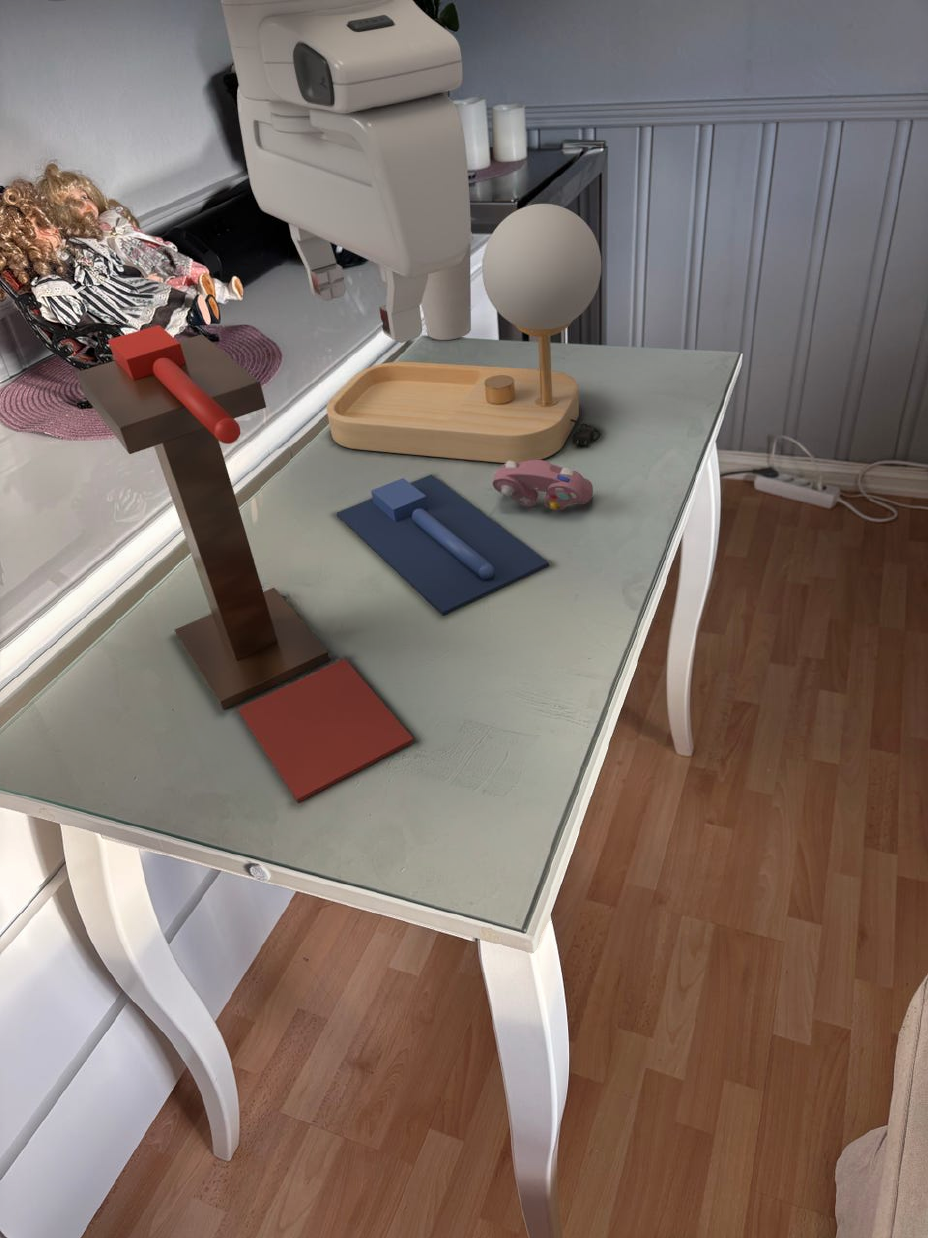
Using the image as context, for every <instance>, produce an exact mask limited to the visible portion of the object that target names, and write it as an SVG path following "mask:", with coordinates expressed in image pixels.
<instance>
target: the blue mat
mask: <svg viewBox="0 0 928 1238" xmlns="http://www.w3.org/2000/svg"><path fill="white" fill-rule="evenodd" d="M409 483H410V484H411V485H413V486H414V487H415V488H417V489H418V490H419V491H420V492H422V493H423V494H424V495H425V496H426V498H427V505H428V509H426V510H425V511H426V512H427V513H429V514H430V515H431V516H432V517H434V518H435V519H436V520H437V521H438V522H440V523H441V524H442V525H443V526H445V527H446V528H447V529H448V530H450V531H451V532H452V533H453V534H455V535H456V536H457V537H458V538H459V539H461V540H462V541H463V542H464V543H466V544H467V545H468V546H469V547H471V548H472V549H473V550H474V551H475V552H477V553H478V554H479V555H480V556H482V557H483V558H484V559H485V560H487V561H488V562H489V563H490V564H492V566H493V567H494V574H493V576H492V577H491V578H489V579H482V578H481V577H479V576H478V575H477V574H476V573H475V572H473V571H472V570H471V569H470V568H469V567H467V566H466V565H465V564H464V563H463V562H462V561H460V560H459V559H458V558H457V557H456V556H454V555H453V554H452V553H451V552H450V551H448V550H447V549H446V548H445V547H444V546H442V545H441V544H440V543H439V542H438V541H437V540H435V539H434V538H433V537H432V536H431V535H429V534H428V533H427V532H426V531H425V530H423V529H422V528H421V527H420V526H419V525H417V524H416V523H415V522H414V521H413V519H412V516H409V517H407V518H404V519H402V520H400V521H397V522H395V521H394V520H393V519H391V518H390V517H389V516H388V515H387V514H386V513H385V512H383V511H382V510H381V509H380V508H379V507H378V506H376V505H375V504H374V503H373V498H372V497H371V498H369V499H367V500H364V501H362V502H360V503H357V504H354V505H351V506H350V507H349V506H348V507H347V508H345V509H342V510H339V511H337V512H336V516H337V517H338V518H339V519H340V520H341V521H342V522H343V523H344V524H345V525H346V526H348V528H350V529H351V530H352V531H353V532H354V533H355V534H356V535H357V536H358V537H359V539H361V540H362V541H364V543H366V545H368V547H370V548H371V549H372V550H373V551H374V552H375V553H376V554H377V555H378V556H379V557H381V559H382V560H384V561H385V562H386V564H388V566H390V567H391V568H392V569H393V570H394V571H395V572H396V573H398V574H399V576H401V578H403V580H404V581H406V582H407V583H408V584H409V585H410V586H411V587H412V588H413V589H415V590H416V591H417V593H419V594H420V595H421V596H422V597H423V598H424V599H425V600H426V601H427V602H428V603H429V604H431V605H432V606H433V607H434V608H435V610H437V611H438V612H439V613H440V614H441V615H442V616H445V615H447V614H449V613H451V612H454V611H455V610H457V609H459V608H461V607H464V606H466V605H468V604H469V603H470V604H471V603H472V602H475V601H477V600H478V599H480V598H483V597H485V596H487V595H489V594H491V593H494V592H495V591H498V590H501V589H502V588H504V587H506V586H509V585H510V584H512V583H515V582H517V581H520V580H521V579H523V578H526V577H528V576H530V575H532V574H534V573H536V572H538V571H540V570H543V569H544V568H547V567H549V566H550V562H549V560H546V559H545V557H543V556H541V555H540V554H538V553H537V552H536V551H534V550H533V549H532V548H530V547H529V546H527V545H526V544H525V543H524V542H522V541H521V540H519V538H517V537H516V536H514V534H512V533H510V532H509V531H508V530H507V529H505V528H504V527H502V526H501V524H498V523H497V522H496V521H494V520H493V519H491V518H490V517H489V516H488V515H487V514H485V513H484V512H483V511H481V510H479V509H478V508H477V507H476V506H474V504H472V503H470V502H469V501H467V500H466V499H465V498H463V497H462V496H461V495H459V494H458V493H457V492H455V491H454V490H453V489H451V488H450V487H449V486H448V485H446V484H445V483H443V481H440V480H439V479H438V477H436V476H435V475H433V474H429V475H426V476H424V477H422V478H419V479H417V480H413V481H412V482H409Z"/></svg>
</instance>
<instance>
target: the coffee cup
mask: <svg viewBox="0 0 928 1238" xmlns="http://www.w3.org/2000/svg"><path fill="white" fill-rule="evenodd" d="M473 241H474V235H473V232H472V231H471V236H470V242H469V246H468V248H467V251H466V253H465V256H464V258H463V260H462V261H461V263H459V264H458V265H455V266H453V267H450V268H447V269H444V270H441V271H438V272H434V273H431V274H428V280H427V284H426V287H425V291H424V294H423V298H422V301H421V305H420V306H421V310H422V314H423V318H424V323H425V329H426V333H427V336H428V337H429V338H431V339H434V340H437V341H451V340H456V339H460V338H462V337H463V338H464V337H465V336H467V335H468V334H470V333H471V331H472V313H471V312H472V311H471V310H472V303H471V301H472V298H471V297H472V295H471V294H472V292H471V290H472V289H471V288H472V287H471V286H472V285H471V284H472V283H471V244H472V243H473Z"/></svg>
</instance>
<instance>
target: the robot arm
mask: <svg viewBox="0 0 928 1238" xmlns="http://www.w3.org/2000/svg"><path fill="white" fill-rule="evenodd" d="M49 1H50V2H63V1H65V0H49ZM220 3H221V7H222V13H223V17H224V23H225V26H226V31H227V35H228V40H229V46H230V50H231V55H232V60H233V65H234V69H235V74H236V77H237V84H238V86H237V91H236V92H237V94H236V98H237V99H236V102H237V103H236V104H237V113H238V121H239V127H240V128H239V129H240V134H241V139H242V145H243V152H244V156H245V157H244V158H245V161H246V163H245V164H246V168H247V173H248V179H249V184H250V187H251V190H252V193H253V196H254V198H255V200H256V203H257V204H258V205H257V206H259V209H260V210H261V211H262V212H264V213H266V214H268V215H270V216H273V217H275V218H277V219H279V220H281V221H282V222H285V223H287V224H288V227H289V232H290V238H291V239H292V242H293V244H294V245H295V248H296V250H297V252H298V255H299V257H300V259H301V261H302V263H303V265H304V267H305V269H306V274H307V277H308V278H307V279H308V282H309V287H310V291H311V293H312V295H314V296H316V297H318V298H319V299H321V300H322V301H327V302H329V301H332V300H333V299H338V298H341V297H343V296H344V295H345V294H346V291H347V287H346V283H345V280H344V279H345V276H344V275H345V274H344V269H343V266H341V265H340V264H338V263H337V260H336V256H335V253H334V251H333V247H332V244H333V245H335V246H338V247H340V248H342V249H343V250H346V251H349V252H351V253H353V254H355V255H357V256H359V257H361V258H364V259H365V260H368V261H370V262H373V263H374V264H376V265H378V266H379V270H380V277H381V281H382V282H383V283H385V284H387V287H386V301H385V305H381V306H379V307H378V309H379V316H380V321H381V322H382V325H381V327H382V332H383V334H384V335H386V336H387V337H388V338H391V339H392V340H394V341H396V342H398V343H400V344H403V343H407V342H410V341H412V340H415V339H418V338H419V337H420V336H421V335H422V332H423V323H422V314H421V306H422V305H421V301H422V298H423V294H424V291H425V287H426V284H427V280H428V274H431V273H434V272H438V271H441V270H444V269H447V268H450V267H453V266H455V265H458V264H459V263H461V261H462V260H463V258H464V256H465V253H466V251H467V248H468V246H469V242H470V236H471V232H472V220H471V219H472V217H471V199H470V198H471V197H470V185H469V184H470V183H469V170H468V159H467V149H466V141H465V140H466V139H465V133H464V127H463V124H462V119H461V116H460V114H459V113H460V112H459V111H458V108H457V107H456V105H455V102H453V100H452V98H450V97H449V96H448V95H447V94H445V93H446V92H450V91H454V90H457V89H459V88H460V87H461V85H462V83H463V76H464V75H463V69H464V68H463V60H462V59H463V58H462V51H461V46H460V44H459V41H458V40H457V39H456V38H457V37H455V36H454V35H453V34H452V33H451V32H449V30H447V29H446V28H445V27H443V26H441V25H440V24H439V23H438V22H436V21H435V20H434V19H433V18H431V16H429V15H428V14H427V13H426V12H424V11H423V10H422V9H421V7H419V5H417V4H416V2H415V1H414V0H220Z"/></svg>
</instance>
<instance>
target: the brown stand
mask: <svg viewBox="0 0 928 1238" xmlns="http://www.w3.org/2000/svg"><path fill="white" fill-rule="evenodd" d="M177 341H178V342H179V343H180V345H181V348H182V351H183V355H184V358H185V361H186V364H184V365H181V366H178V367H179V368H180V369H181V370H182V371H183V372H184V373H186V374H187V375H188V376H189V377H190V378H191V379H192V380H193V381H194V382H195V383H196V384H197V385H198V386H199V387H200V388H201V389H202V390H204V391H205V392H206V393H207V394H208V395H209V396H210V397H211V398H212V399H213V400H214V401H215V402H216V403H217V404H218V405H219V406H221V407H222V408H223V409H224V410H225V411H226V412H227V413H228V414H229V415H230V416H231V417H232V418H233V419H234V420H235V419H238V418H240V417H243V416H245V415H249V414H252V413H255V412H257V411H261V410H264V409H266V408H267V403H266V399H265V396H264V392H263V391H264V390H263V389H262V383H261V381H260V380H259V379H257V378H256V377H255V376H254V375H252V373H250V372H249V371H248V370H246V369H245V368H244V367H242V366H241V364H240V363H238V362H236V361H235V360H234V359H233V358H232V357H230V356H229V355H228V354H227V353H225V352H224V351H223V350H222V349H221V348H219V347H218V346H217V345H216V344H214V342H212V341H211V340H209V338H207V337H206V336H205V335H204V334H198V335H195V336H191V337H188V338H184V339H182V340H177ZM75 375H76V377H77V379H78V382H79V385H80V387H81V388H80V389H81V390H82V393H83V396H84V397H85V399H86V400H87V401H88V403H89V404H90V405H91V406H92V408H93V409H94V410H95V412H96V413H97V414H98V416H99V417H100V418H101V419H102V420H103V423H104V424H105V425H106V426H107V427H108V429H109V430H110V431H111V433H112V434H113V435H114V436H115V437H116V439H117V440H118V442H119V443H120V444H121V445H122V447H123V449H125V450H126V452H127V453H128V454H129V455H132V454H135V453H137V452H138V453H139V452H141V451H144V450H147V449H149V448H152V447H154V450H155V454H156V456H157V459H158V462H159V465H160V467H161V471H162V474H163V476H164V480H165V482H166V485H167V488H168V490H169V493H170V496H171V497H170V498H171V499H172V502H173V506H174V508H175V511H176V514H177V517H178V520H179V522H180V525H181V529H182V531H183V534H184V537H185V540H186V542H187V546H188V548H189V551H190V554H191V557H192V560H193V563H194V567H195V569H196V571H197V574H198V577H199V580H200V583H201V587H202V589H203V591H204V595H205V598H206V601H207V604H208V606H209V609H210V612H211V613H209V614H208V615H205V616H203V617H201V618H198V619H196V620H193V621H191V622H189V623H187V624H184V625H182V626H178V627H177V628H175V629H174V633H175V636H176V638H177V640H178V641H179V643H180V644H181V646H182V647H183V649H184V650H185V652H186V653H187V655H188V657H189V658H190V660H191V662H192V663H193V665H194V666H195V667H196V669H197V671H198V673H199V674H200V676H201V677H202V679H203V680H204V682H205V683H206V685H207V687H208V688H209V690H210V692H211V693H212V695H213V697H214V698H215V699H216V701H217V702H218V704H219V706H220V707H221V709H222V710H226V709H228V708H231V707H232V706H235V705H237V704H239V703H241V702H243V701H246V700H247V699H250V698H252V697H254V696H257V695H258V694H260V693H262V692H265V691H267V690H269V689H271V688H273V687H275V686H277V685H280V684H282V683H284V682H286V681H289V680H291V679H293V678H294V677H297V676H299V675H301V674H304V673H306V672H307V671H311V670H312V669H314V668H316V667H318V666H320V665H323V664H325V663H327V662H329V661H330V660H331V658H330V654H329V651H328V650H327V649H326V647H325V646H324V645H323V644H322V642H321V641H320V640H319V639H318V638H317V637H316V636H315V634H314V633H313V632H312V631H311V630H310V628H309V627H308V626H307V625H306V623H305V622H304V621H303V620H302V619H301V618H300V616H299V615H298V614H297V613H296V612H295V610H294V609H293V608H292V607H291V606H290V604H289V603H288V602H287V601H286V600H285V599H284V597H283V596H282V595H281V594H280V593H279V591H278V590H277V589H276V588H275V587H271V588H269V589H266V590H265V591H264V589H263V586H262V583H261V579H260V575H259V572H258V569H257V566H256V562H255V559H254V555H253V552H252V549H251V545H250V542H249V539H248V535H247V531H246V528H245V524H244V521H243V517H242V514H241V512H240V508H239V505H238V502H237V498H236V494H235V490H234V488H233V485H232V480H231V477H230V474H229V471H228V468H227V463H226V461H225V457H224V453H223V451H222V447H221V444H220V443H221V442H220V441H219V440H218V439H217V438H216V437H215V436H214V435H213V434H212V433H211V432H210V431H209V430H208V429H207V428H206V427H205V426H204V425H203V424H202V423H201V422H200V421H199V420H198V419H197V418H196V417H195V416H194V415H193V414H192V413H191V412H190V411H189V410H188V409H187V408H186V407H185V406H184V405H183V404H182V403H181V402H180V401H179V400H178V399H177V398H176V397H175V396H174V395H173V393H172V392H171V391H170V390H169V389H168V388H167V387H166V386H165V385H164V384H163V383H162V382H161V381H160V380H159V379H158V378H157V377H156V376H155V374H153V375H149V376H146V377H143V378H140V379H137V380H133V379H132V378H131V377H130V376H129V375H128V374H127V372H126V371H125V370H124V369H123V368H122V367H121V366H120V365H119V364H118V363H117V362H116V361H115V360H112V361H109V362H106V363H103V364H99V365H95V366H93V367H89V368H86V369H83V370H79V371H76V372H75Z"/></svg>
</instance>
